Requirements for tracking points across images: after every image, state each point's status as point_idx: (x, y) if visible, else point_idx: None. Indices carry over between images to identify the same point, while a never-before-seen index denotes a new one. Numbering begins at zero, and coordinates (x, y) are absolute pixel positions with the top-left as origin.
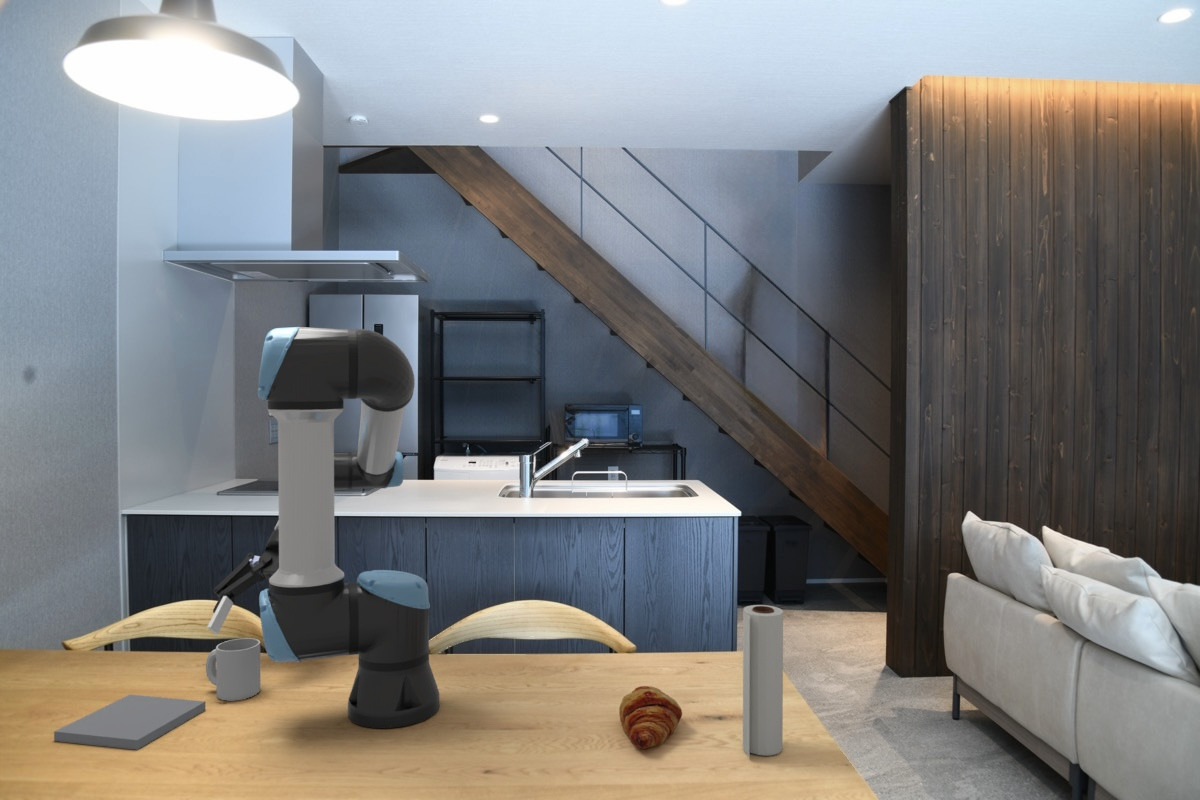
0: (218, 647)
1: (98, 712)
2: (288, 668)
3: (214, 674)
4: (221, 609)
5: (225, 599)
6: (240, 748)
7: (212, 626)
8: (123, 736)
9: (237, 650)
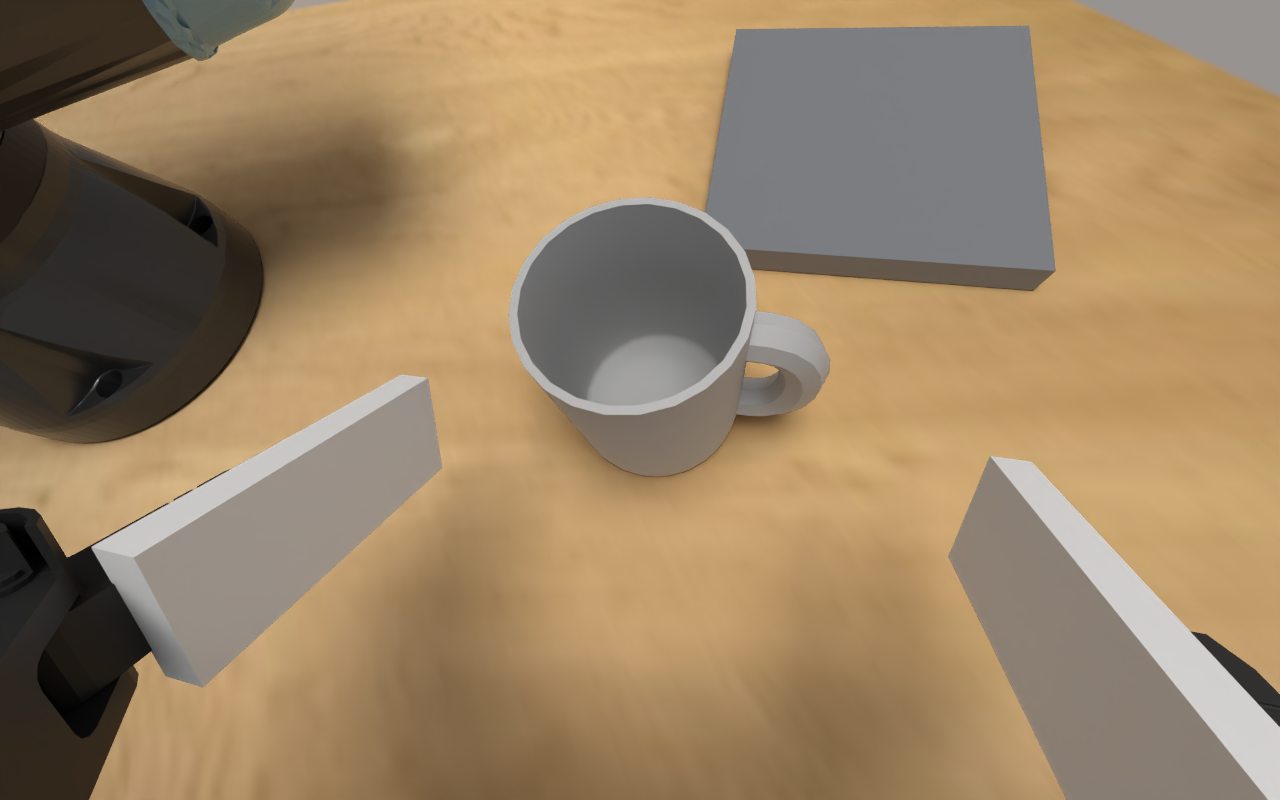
0: (740, 275)
1: (1019, 134)
2: (566, 725)
3: (770, 379)
4: (1098, 625)
5: (1233, 766)
6: (490, 97)
7: (991, 480)
8: (789, 36)
9: (586, 212)
